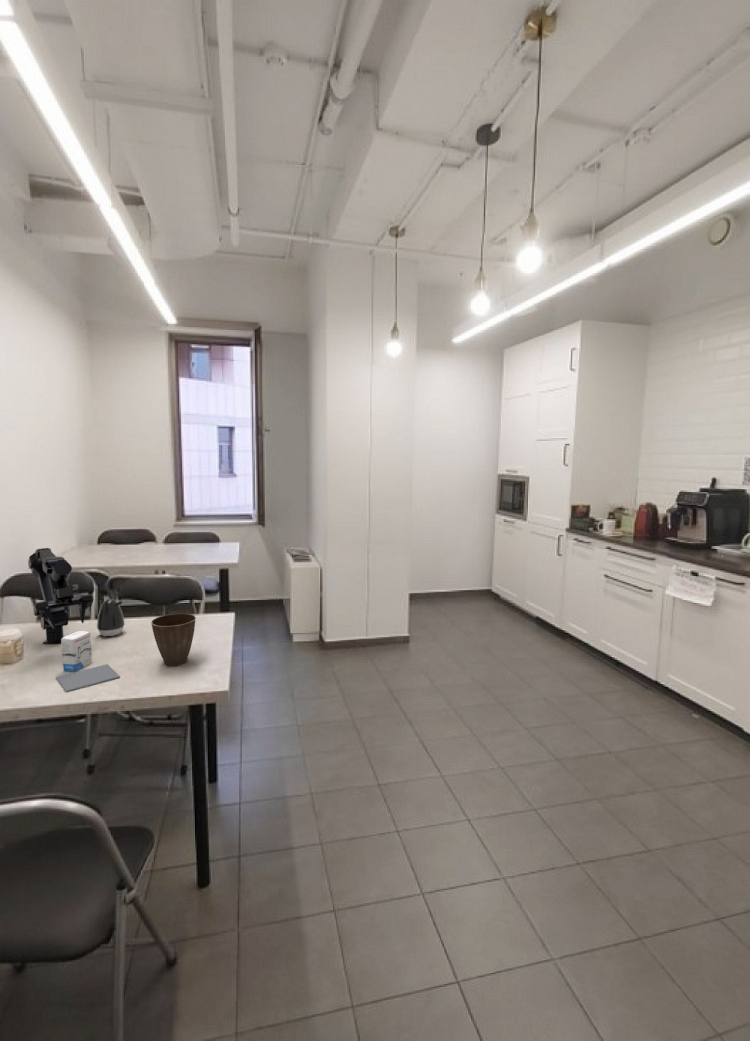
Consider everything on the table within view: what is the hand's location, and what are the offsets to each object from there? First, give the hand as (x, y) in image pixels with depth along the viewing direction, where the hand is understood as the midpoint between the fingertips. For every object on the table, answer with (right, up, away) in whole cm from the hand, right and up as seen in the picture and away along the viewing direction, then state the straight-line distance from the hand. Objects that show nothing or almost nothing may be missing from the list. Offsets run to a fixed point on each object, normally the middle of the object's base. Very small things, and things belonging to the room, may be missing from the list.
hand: (68, 625), depth 188 cm
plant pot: (+39, -13, -1) cm, 42 cm away
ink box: (+7, -14, -5) cm, 16 cm away
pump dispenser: (+2, -10, +27) cm, 29 cm away
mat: (+15, -15, -15) cm, 26 cm away
